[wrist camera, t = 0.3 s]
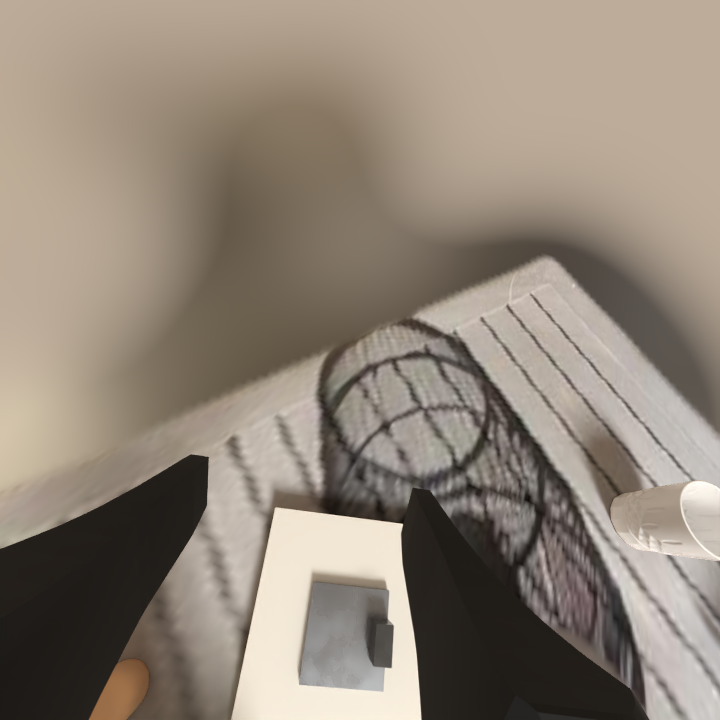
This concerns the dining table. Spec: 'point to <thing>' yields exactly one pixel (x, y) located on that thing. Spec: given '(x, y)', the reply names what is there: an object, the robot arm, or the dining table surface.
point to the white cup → (671, 519)
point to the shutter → (347, 638)
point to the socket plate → (291, 610)
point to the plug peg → (122, 691)
